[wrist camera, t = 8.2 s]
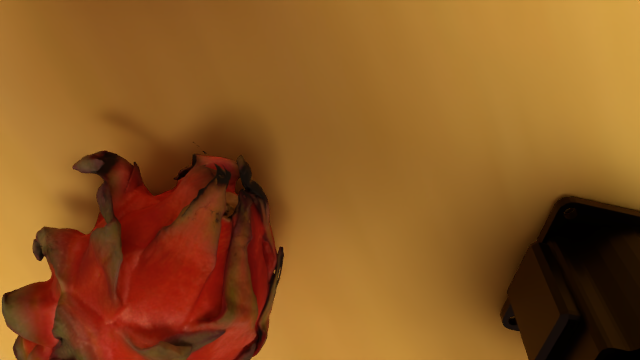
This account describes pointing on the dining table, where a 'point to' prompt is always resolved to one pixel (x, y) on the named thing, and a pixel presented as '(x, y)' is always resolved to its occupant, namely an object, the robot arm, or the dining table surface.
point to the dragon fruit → (154, 271)
